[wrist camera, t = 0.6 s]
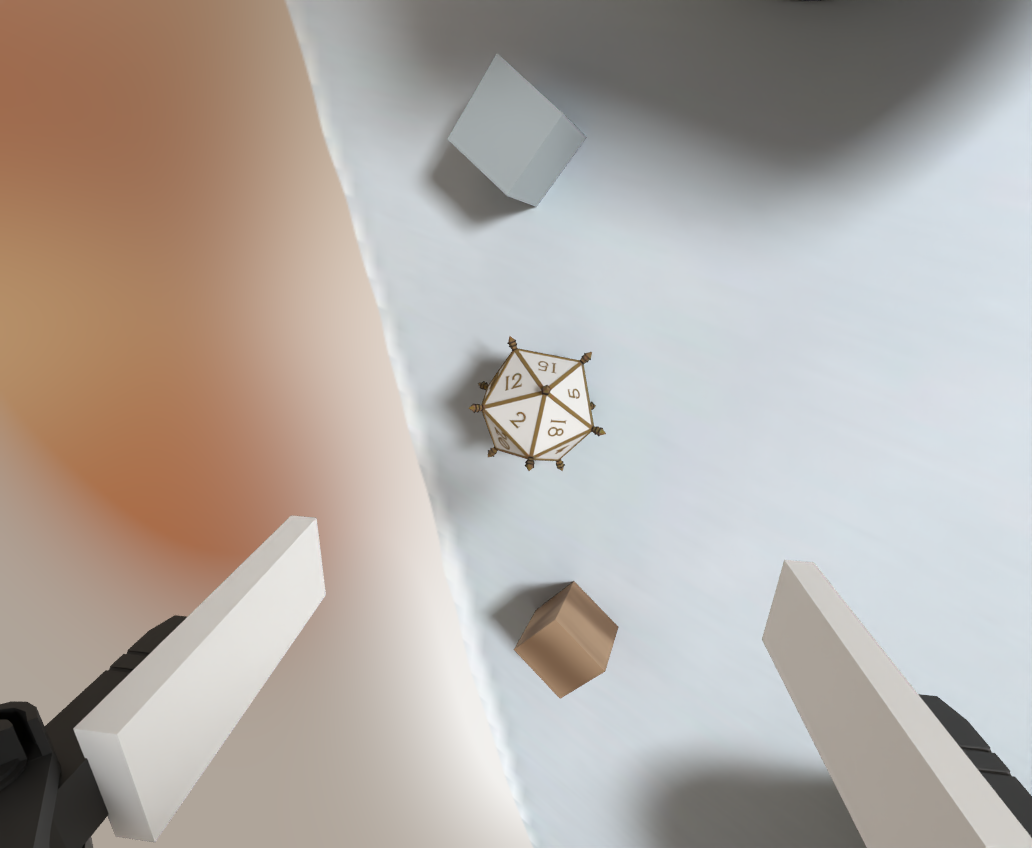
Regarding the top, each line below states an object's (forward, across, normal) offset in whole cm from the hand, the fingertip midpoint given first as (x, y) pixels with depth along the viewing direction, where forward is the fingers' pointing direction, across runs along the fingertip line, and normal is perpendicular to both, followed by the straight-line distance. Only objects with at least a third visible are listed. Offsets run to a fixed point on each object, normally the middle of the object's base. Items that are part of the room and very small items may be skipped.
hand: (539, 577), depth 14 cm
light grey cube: (+24, -2, +15) cm, 28 cm away
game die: (+23, 0, -1) cm, 23 cm away
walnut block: (+21, +3, -20) cm, 29 cm away
